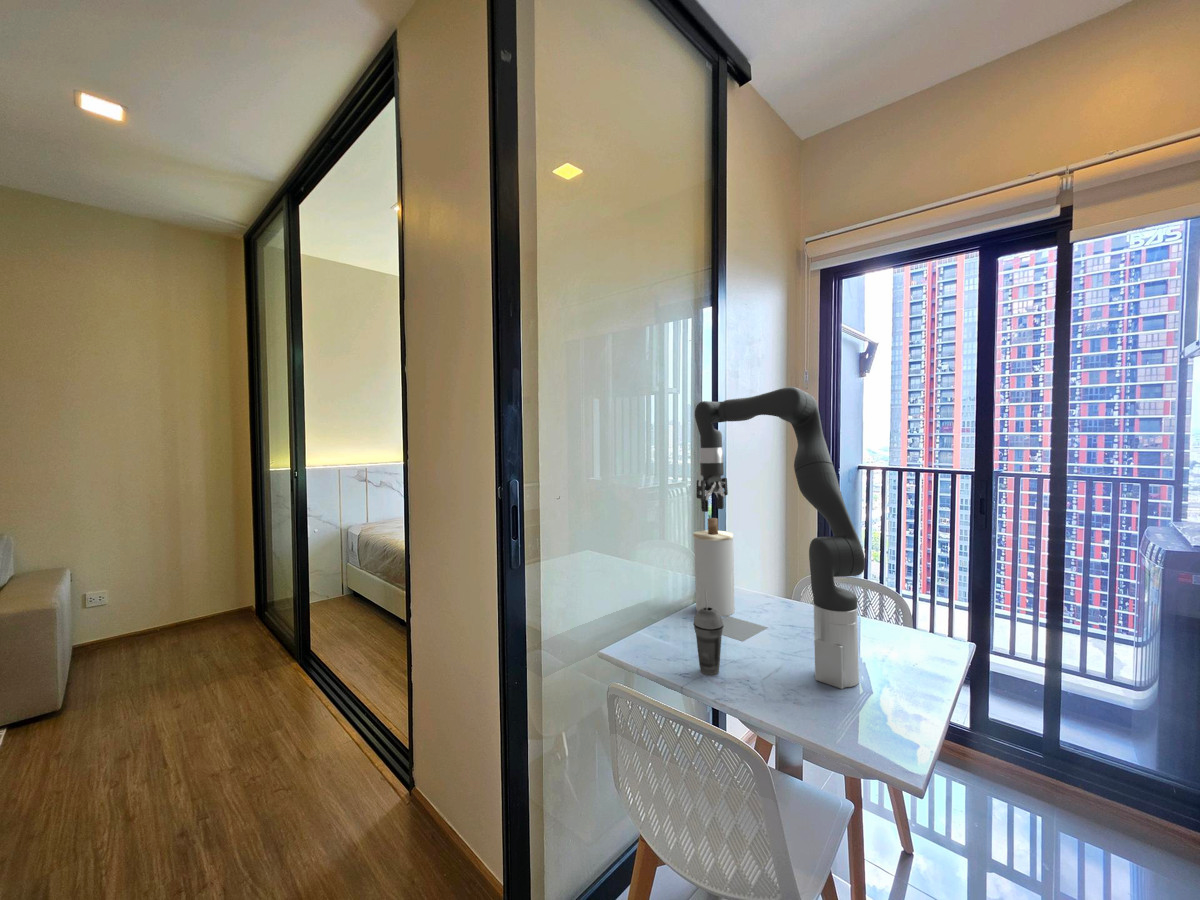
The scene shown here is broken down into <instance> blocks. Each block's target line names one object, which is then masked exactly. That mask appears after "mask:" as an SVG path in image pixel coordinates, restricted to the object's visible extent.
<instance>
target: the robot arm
mask: <svg viewBox="0 0 1200 900" xmlns="http://www.w3.org/2000/svg"><path fill="white" fill-rule="evenodd" d="M757 416H772V417H778V418H779V419H781V420H783V421H785V422H788V423H789V424H791V426H792V428H793V430H794V433H795V437H796V440H797V450H796V454H795V455H794V462H793V469H794V475H795V477H796V482H797V485H798V488H799V489H798V490H799V491H800V493H801V494H802V496H803V497H804V498H805V499H806V501H808V503H810V505H811V506H813V508H814V509H816V510H817V512H819V514H821V516H823V518H824V519H825V520H826V522H827V524H828V526H829V527H830V530H831V532H832V535H833V536H817V537H814V538H813V539H812V540H811V541H810V544H809V549H808V559H809V561H808V562H809V569H810V586H811V587H810V588H811V592H812V596H813V597H812V598H813V601H812V602H813V637H814V640H813V641H814V642H813V644H814V677H815V678H814V679H815V681H818V682H821V683H824V684H827V685H829V686H832V687H835V688H838V689H841V690H844V689H845V688H851V687H855V686H857V685H859V682H860V677H859V676H860V673H859V672H860V669H859V667H860V666H859V637H858V636H859V631H858V629H859V628H858V627H859V626H858V599H857V596H856V594H855V593H854V592H852V591H850V590H848V589H845V588H842V587H839V586H836V585H835V579H834V578H838V577H839V578H842V577H856V576H860V575H862V574H863V572H864V571H865V566H866V559H865V554H864V553H865V552H864V550H863V546H862V544H861V541H860V539H859V536H858V534H857V532H856V528H855V527H854V525H853V522H852V519H851V517H850V514H849V512H848V509H847V507H846V504H845V500H844V497H843V495H842V492H841V487H840V485H839V480H838V477H837V473H836V471H835V467H834V464H833V463H834V462H833V461H832V458H831V456H830V452H829V449H828V444H827V442H826V439H825V435H824V432H823V428H822V421H821V415H820V411H819V405H818V401H816V399H815V398H814V397H813V396H812V394H810V393H808V392H807V391H804V390H802V389H800V388H798V387H795V386H787V387H781V388H778V389H775V390H772V391H768V392H765V393H762V394H757V395H754V396H747V397H738V398H732V399H726V400H722V401H710V400H709V401H708V400H707V401H700V402H698V403H697V405H696V406H695V409H694V419H695V422H696V426H697V429H698V433H699V436H700V452H699V468H700V471H699V472H700V476H701V477H703V478H702V480H701V479H698V480H696V498H697V499H699V500H700V503H701V505H700V507H701V512H702V513H703V512H705V513H707V512H709V510H710V509H709V498H710V496H711V495H712V494H713V493H714V495H716V509H717V510H724V506H725V504H724V503H725V501H724V498H725V497H726V496H728V495H729V490H728V478H727V477H722V476H724V474H725V473H724V471H725V470H724V450H723V435H722V432H721V431H720V430H718V429H716V428H715V426H714V424H715V423H717V424H718V423H724V422H742V421H743V422H744V421H749V420H750V419H753V418H755V417H757ZM713 423H714V424H713Z"/></svg>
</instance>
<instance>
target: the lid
mask: <svg viewBox="0 0 1200 900" xmlns="http://www.w3.org/2000/svg"><path fill="white" fill-rule="evenodd" d="M718 521H719V519H718V518H717V517H709V518H707V530H699V531H698V530H697V531H694V532H693V533H692V536H693V539H694V538H696V539H700V540H709V541H721V540H729V539H732V538H733V539H734V533H733V532H731V531H725V530H719V528H718V527H719V525H718V524H719V523H718Z"/></svg>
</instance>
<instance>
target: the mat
mask: <svg viewBox="0 0 1200 900" xmlns="http://www.w3.org/2000/svg"><path fill="white" fill-rule="evenodd" d="M721 618H722V622H723V626H724V627H723V632H722V636H724V637H727V638H731V639H734V640H736V641H740V642H745V641H747V640H748V639H750V638H752V637H753V636H755V635H758V634H759V633H761V632H763V631H765V630H767V629H769V627H768V626H765V625H761V624H757V623H753V622H751V621H747V620H743V619H741V618H737V617H733V616H731V615H729V616H723V617H721Z"/></svg>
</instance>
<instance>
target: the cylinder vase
mask: <svg viewBox="0 0 1200 900" xmlns="http://www.w3.org/2000/svg"><path fill="white" fill-rule="evenodd" d="M693 539H694V541H693V542H694V573H695V575H694V576H695V577H694V579H695V608H696V611H697V612H698V611H699V610H700V609H702V608H705V607H706V606H705V594H704V589H706V594H707V606H708V607H710V608H713V609H715V610H716V611H717V612H718V613H719V614H720V616H721V618H724V617H726V616H731V615H733V614H735V612H736V608H735V607H736V606H735V604H736V602H735V599H736V598H735V571H734V570H735V569H734V568H735V565H734V537H733V538H732V539H729V540H721V541H709V540H700V539H696V538H694V537H693Z"/></svg>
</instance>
